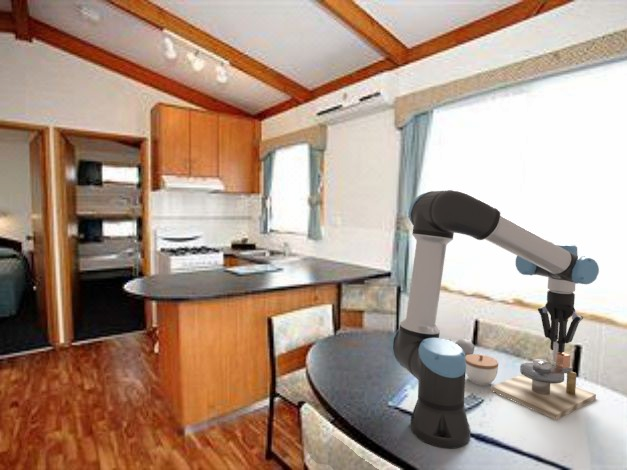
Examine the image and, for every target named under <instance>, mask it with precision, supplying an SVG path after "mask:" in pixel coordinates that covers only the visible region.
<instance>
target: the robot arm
mask: <svg viewBox="0 0 627 470" xmlns="http://www.w3.org/2000/svg"><path fill="white" fill-rule="evenodd" d="M408 217H409V221H410V222H411V224H412V234H411V235H412V236H413V237H414V239H415V240H416V242H415V243H416V244H415V252H414V257H413V264H412V272H411V279H410V287H409V294H408V302H407V308H406V316H405V319H403V320H402V321H401V322H400V323H399V328H398V329H397V331H396V332H394V334H392V338H391V342H390V349H391V353H392V356H393V357H394V359H395V360H396V362H397V363H398V364H399V365H400V366H401V367H402V368H404V369H405V370H407V372H408V373H410V374H411V375H412V376H413V377H414V378H416V380H417V382H418V383H417V385H418V386H417V400H416V403H415V405H414V408H413V410H412V413H411V416H410V425H409V426H410V430H411V432H412V435H414V436H415V437H416V438H417V439H419V440H420V441H422V442H424V443H426V444H428V445H431V446H433V447H439V448H443V449H457V448H462V447H465V446H466V445H467V444H469V442H470V441H471V440H470V439H471V425H470V423H469V420H468V417H467V412H466V408H465V395H466V394H465V393H466V392H465V390H466V389H465V388H466V384H465V383H466V358H465V353H464V351H463V349H462V348H461V347H460V346H459V345H457V344H456V342H455V341H453V342H452V340H451V341H450V340H446V338H443V337H442V338H441V337H440V333H441V330H440V329H439V327H438V326H437V325H436V323H437V314H438V310H439V309H438V308H439V300H440V294H441V287H442V280H443V272H444V265H445V260H446V259H445V258H446V252H447V251H446V250H447V245H448V244H449V243H450V242H452V241H453V240H454V235H455V234H454V233H456V234H462V235H465V236H469V237H471V238H473V239H476V240H478V241H484V240H486V241H488V242H489V243H491V244H494V245H496V246H498V247H500V248H502V249H504V250H505V251H508V252H510V253H511V254H514V255H516V258H515V268H516V270H517V271H518V272H519V274H521V275H523V276H535V275H536V276H541V277H545V278H546V277H547V278H548V279H547V289H548V290H547V292H546V294H547V295H546V301H547V302H546V303H545V306H542V307H539V308H538V309H537V311H538V313H539V315H540V319H541V323H542V329H543V333H544V337H545V338H546V339H548V340H550V350H551V351H552V362H554V363H556V356H557V353H565V347H566V345H565V344H569V343H572V342H573V339H574V336H575V335H576V331H577V329H578V326H579V323H580V322H581V321H582V320H583V319H584V317H583V316H582V315H579V314H578V313H577V312H576V309H575V299H576V294H575V291H576V284H578V285H579V284H582V285H590V284H592V283H594V282H595V281H596V280H597V277H598V275H599V272H600V267H599V265H598V262H597V261H596V260H595V259H593V258H591V257H587V256H584V255H583V256H579V255H578V247H577V245H575V244H571V243H561V242H560V243H557V242H556V243H553V242H552V241H550V240H548V239H546V238H544V237H543V236H541V235H539V234H537V233H535V232H533V231H532V230H529V229H528V228H526V227H524V226H523V225H520V224H518V223H517V222H515V221H514V220H512V219H510V218H507V217H506V216H504V215H502V214H501V211H500V209H499V208H498V207H496V206H494V205H492V204H490V203H488V202H487V201H484V200H483V199H481V198H479V197H477V196H474V195H473V194H470V193H469V192H465V191H464V190H463V191H462V190H457V189H448V190H436V191H435V190H433V191H432V190H431V191H427V192H424V193H422V194H419V195H418V196H417V197H415V198H414V199H413V201H412V202H411V203H410V206H409V210H408ZM549 315H550V316H549ZM570 318H571V322H570V324H569V327H568V326H567V325H568V321H569V319H570ZM567 328H568V329H567ZM454 342H455V343H454Z"/></svg>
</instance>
